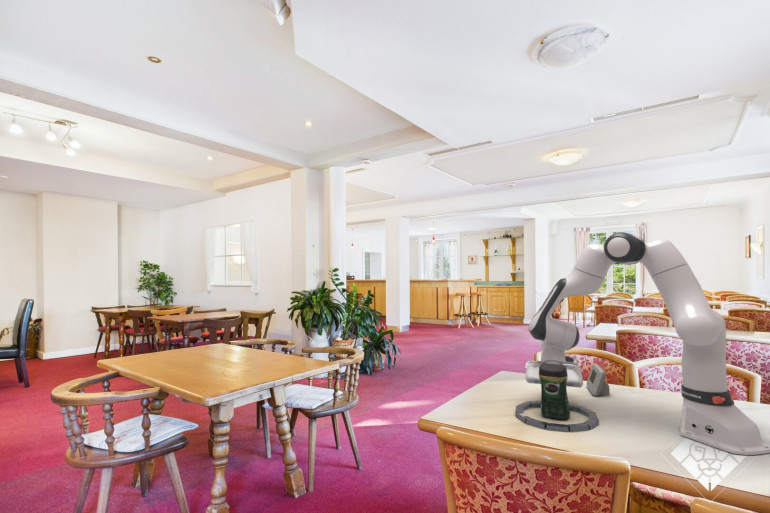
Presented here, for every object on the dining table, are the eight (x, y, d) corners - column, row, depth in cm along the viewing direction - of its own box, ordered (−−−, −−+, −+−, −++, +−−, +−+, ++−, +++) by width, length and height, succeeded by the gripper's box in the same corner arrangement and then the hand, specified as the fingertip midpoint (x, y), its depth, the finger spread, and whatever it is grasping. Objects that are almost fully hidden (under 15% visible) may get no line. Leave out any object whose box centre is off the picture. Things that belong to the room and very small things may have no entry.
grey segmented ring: (616, 427, 132) (616, 422, 132) (541, 435, 127) (541, 429, 127) (566, 402, 158) (566, 397, 158) (502, 407, 154) (502, 403, 154)
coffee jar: (571, 414, 144) (569, 362, 144) (568, 422, 137) (565, 368, 138) (543, 409, 149) (541, 360, 150) (538, 417, 143) (536, 365, 143)
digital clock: (586, 386, 180) (585, 362, 180) (609, 388, 175) (608, 364, 176) (584, 396, 165) (583, 370, 166) (609, 399, 161) (608, 372, 162)
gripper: (524, 355, 159) (523, 387, 150) (581, 359, 151) (584, 393, 142) (526, 364, 163) (524, 395, 154) (581, 368, 155) (583, 401, 146)
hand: (553, 394), depth 148 cm, fingers closed
